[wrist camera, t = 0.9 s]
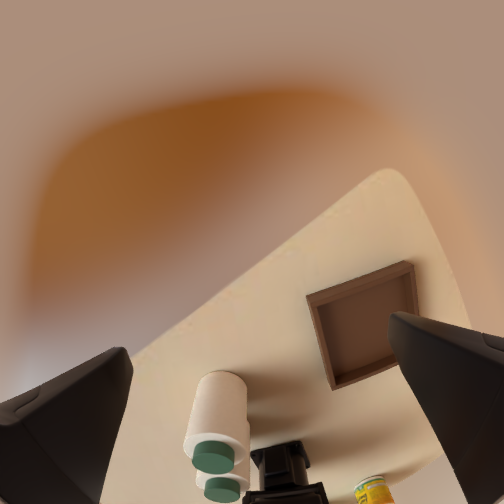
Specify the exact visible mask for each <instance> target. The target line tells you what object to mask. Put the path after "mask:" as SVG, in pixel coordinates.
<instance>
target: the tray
mask: <svg viewBox="0 0 504 504" xmlns="http://www.w3.org/2000/svg"><path fill="white" fill-rule="evenodd" d="M306 299H307V302H308V306H309V310H310V313H311V317H312V321H313V324H314V328H315V332H316V336H317V339H318V343H319V347H320V351H321V355H322V359H323V363H324V367H325V371H326V375H327V379H328V382H329V384H330V387H331V389H332V391H334V390H336V389H339V388H342V387H345V386H348V385H350V384H353V383H356V382H358V381H361V380H363V379H366V378H368V377H371V376H373V375H376V374H378V373H381V372H383V371H385V370H388V369H390V368H392V367H394V366H397V365H399V364H398V362H397V360H396V358H395V355H394V353H393V351H392V349H391V346H390V344H389V342H388V338H387V333H388V321H389V316H390V314H391V313H395V312H399V311H402V312H406V313H409V314H413V315H417V316H419V310H418V299H417V289H416V280H415V272H414V265H412V264H410V263H408V262H406V261H404V260H403V261H401V262H398V263H396V264H393V265H391V266H388V267H385V268H383V269H380V270H378V271H375V272H372V273H370V274H367V275H364V276H361V277H359V278H356V279H353V280H350V281H348V282H345V283H342V284H339V285H336V286H333V287H330V288H328V289H325V290H322V291H319V292H316V293H313V294H310V295H307V296H306Z"/></svg>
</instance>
